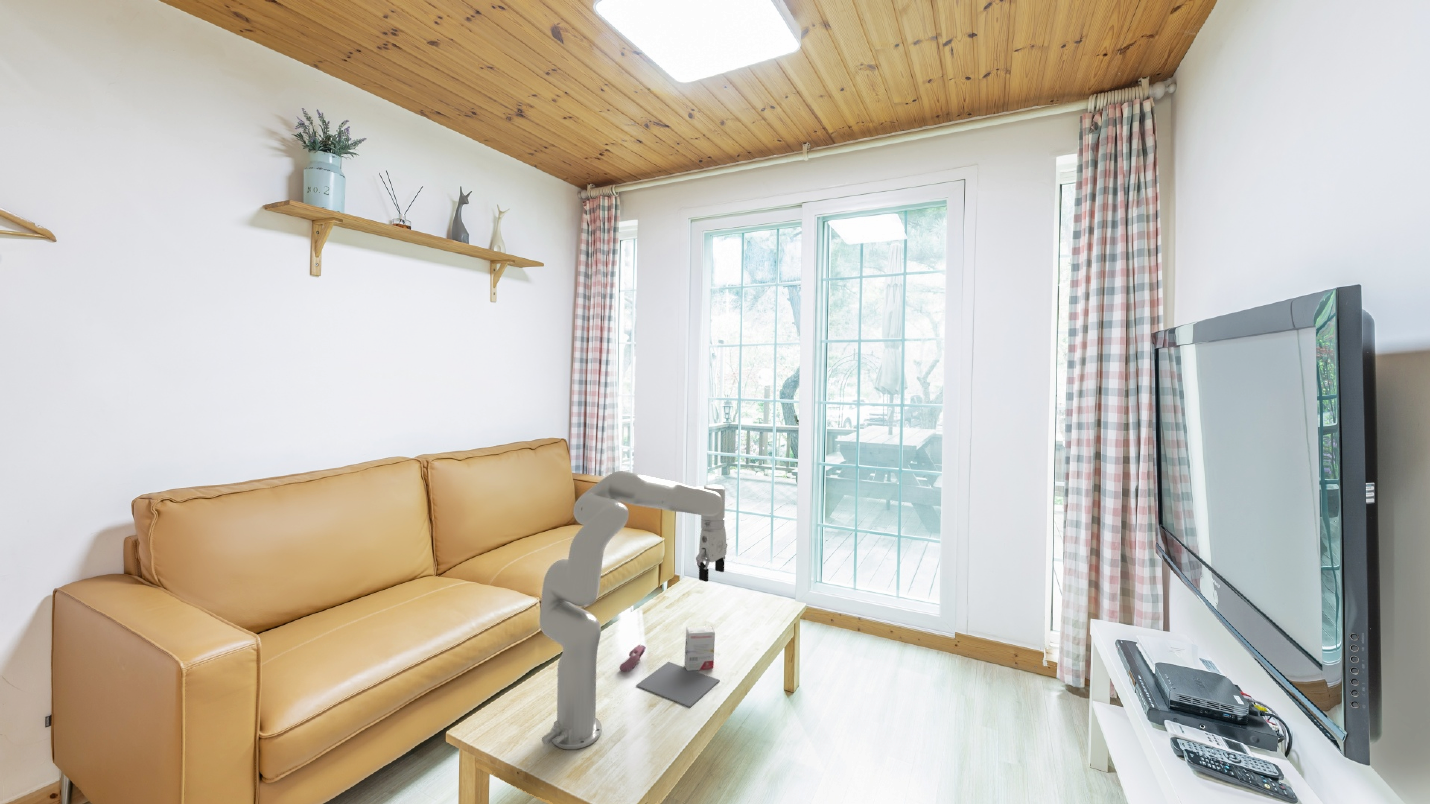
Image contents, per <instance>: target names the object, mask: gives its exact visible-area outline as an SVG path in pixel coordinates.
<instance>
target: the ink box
mask: <svg viewBox="0 0 1430 804" xmlns="http://www.w3.org/2000/svg"><path fill="white" fill-rule="evenodd" d="M715 637H716V633H715V630H714V628H713V626H711V625H710V626H706V625H705V626H687V627H686V628H685V647H684V667H685V668H686V669H687V671H691V670H693V671H701V670H711V669H714V663H715V662H714V661H715V639H716V638H715Z"/></svg>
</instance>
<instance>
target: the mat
mask: <svg viewBox="0 0 1430 804" xmlns="http://www.w3.org/2000/svg"><path fill="white" fill-rule="evenodd" d="M718 683H720V679H718V678H716V677H712V676H709V675H707V674H704V673H701V672H699V671H697V670H691V671H687V669H686V667H685V666H682V665H680V664H677V663H673V662H671V661H667V662H666V663H665V664H663V665H661V666H660V667H659V668H658V669H656V670H655V671H653V672H652V673H651V674H649V675H648V676H647V677H645V678H643V679H642V680H641V681H640V682H638V683H637V684H636V685H635V686H636V687H637V688H640V689H642V690H645V691H647V692H648V693H649V692H650V693H652V694H655V695H657V696H659V697H662V698H664V699H667V700H668V701H672V702H674V703H678V704H680V705H681V706H684V707H687V708H689V709H690V708H692V706H694V705H695V704H696V703H697V702H699V700H701V699H702V698H703V697H704V696H705V695H706V694H707V693H708V692H710V691H711V690H712V689H713V688H714V687H715V686H716V685H718Z"/></svg>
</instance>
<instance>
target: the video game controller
mask: <svg viewBox="0 0 1430 804" xmlns="http://www.w3.org/2000/svg"><path fill="white" fill-rule="evenodd" d="M645 651H646V646H645V645H643V644H638V645H637V646H635V647H634V648H633V649H632V650H630V652H629V654H628V656H629V658H627V660H625V661H624V662H622V664H620V665H619V669H620V670H619V671H621V672H628V671H630V670H631V669H634V668H635V666H636V665H639V664H640V662H641V657H642V656H643V655H644V654H645Z"/></svg>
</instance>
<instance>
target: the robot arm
mask: <svg viewBox="0 0 1430 804" xmlns="http://www.w3.org/2000/svg"><path fill="white" fill-rule="evenodd" d="M625 504H628V505H631V506H637V507H644V508H650V509H651V508H652V509H658V510H663V511H670V512H678V513H686V514H693V515H697V516H700V529H701V530H700V537H699V547H698V554H697V555H696V557H695V560H696V565H697V568H698V580H699V581H702V582H708V581H709V572H710V571H709V568H708V567H709V565H710V563H714V564H715V565H714V571H716V572H720V573H724V572H725V560H726V555H727V550H728V549H727V548H728V543H727V534H726V533H727V532H726V527H725V517H726V516H725V513H726V511H725V509H726V490H725V487H724V486H723V485H721V484H716V483H713V484H705V485H704V486H690V485H686V484H683V483H680V482H677V481H672V480H669V479H664V478H658V477H654V476H649V475H645V474H644V475H643V474H639V473H634V472H629V471H623V470H617V471H614V472H612V473H610V474H608V475H607V476H606V477H604V478H603V479H601V480H599V481H598V482H596V484H594V485H593V486H591V488H589V489H588V490H587V491H585V492H584V493H582V495H580V496H579V497H578V499H577V500H576V501H575V504H574V505H573V506H574V507H573V510H572V511H573V516H574V519H575V520H576V522H577V523H579V524H580V525H583V526H582V527H581V528H580V529H579V530H578V531H577V533H576V534H575V535H574V537H573V538H572V541H571V543H570V546H569V551H568V558H567V559H566V558H565V559H558V560H556V561H555V562H553V564H551V565H550V567H549V568H548V569H547V571H546V573H545V576H544V578H543V583H542V591H541V592H542V593H541V599H540V600H541V601H540V609H539V627H540V630H541V631H542V633H543V635H544V636H546V637H547V638H549V639H551V640H552V641H554V642H556V643H557V644H559V645H560V646H561V647H562V654H561V655H560V658H559V660H558V664H557V672H556V673H557V674H556V676H557V691H556V692H557V693H556V694H557V696H556V721H553V725H552V727H551V729H550V732H548V733H546V734H545V735H543V736H542V737H541V741H542V744H543V745H546V746H547V745H548V744H549V743H550V742H551V743H553V745H554V746H556V747H558V748H560V749H564V750H579V749H582V748H585V747H588V746H590V745H592V744H593V743H595V742H596V741H597V740H598V739H599V738H600V736H601V734H602V729H603V728H602V722H601V721H600V720H599V718H597V716H596V714H597V713H596V712H597V711H596V710H597V706H596V705H597V659H598V648H599V644H600V641H601V634H602V628H601V624H600V621H599V619H598V618H597V617H596V616H595V615H594V614H592V612H590V611H588V610H585V609H583V608H584V607H586V608H587V607H590V606H592V605H593V604H594V603H595V602H596V600H597V599H598V596H599V592H600V587H601V578H602V569H603V568H602V566H603V561H604V560H603V559H604V552H605V550H606V547H607V545H608V543H609V542H610V541H611V540H612V539H613V538H614V536H616V535H617V534H618V533H619V532H620V531H621V530H623V529H624V527H625V526H626V525H627V523H628V520H629V517H630V515H629V513H630V512H629V509H628V507H627V505H625ZM582 607H583V608H582Z"/></svg>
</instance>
